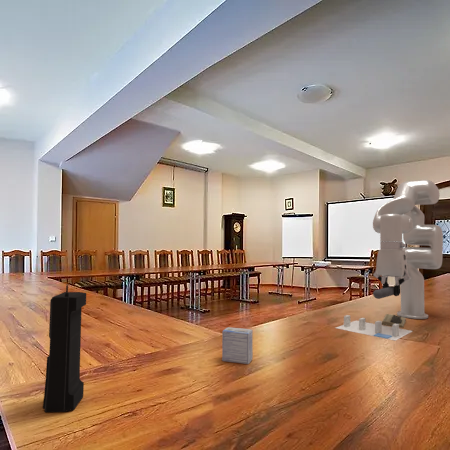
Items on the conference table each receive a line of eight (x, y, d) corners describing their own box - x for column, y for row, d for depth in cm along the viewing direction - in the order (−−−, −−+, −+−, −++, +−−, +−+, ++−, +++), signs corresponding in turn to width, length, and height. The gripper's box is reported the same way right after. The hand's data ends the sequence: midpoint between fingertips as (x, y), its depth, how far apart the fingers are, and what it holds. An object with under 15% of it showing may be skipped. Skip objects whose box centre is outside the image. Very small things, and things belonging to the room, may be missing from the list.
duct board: (355, 322, 145) (355, 310, 145) (413, 333, 129) (413, 320, 129) (334, 330, 132) (334, 317, 132) (395, 343, 116) (395, 328, 117)
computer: (403, 331, 134) (403, 322, 134) (381, 328, 138) (381, 320, 138) (406, 323, 147) (406, 315, 148) (385, 320, 151) (385, 313, 152)
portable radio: (56, 395, 76) (60, 280, 77) (85, 394, 76) (88, 280, 77) (40, 413, 68) (45, 285, 69) (72, 412, 68) (76, 285, 69)
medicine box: (252, 359, 99) (253, 329, 100) (248, 365, 95) (249, 333, 95) (226, 356, 102) (227, 326, 102) (221, 361, 98) (222, 330, 98)
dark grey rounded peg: (387, 294, 132) (387, 286, 133) (396, 295, 130) (396, 287, 130) (371, 298, 123) (371, 289, 123) (380, 299, 120) (380, 290, 120)
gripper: (418, 246, 128) (418, 296, 127) (373, 245, 140) (374, 291, 139) (410, 247, 123) (411, 299, 122) (365, 246, 135) (365, 293, 134)
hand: (391, 294), depth 131 cm, fingers closed on dark grey rounded peg, 3 cm apart
